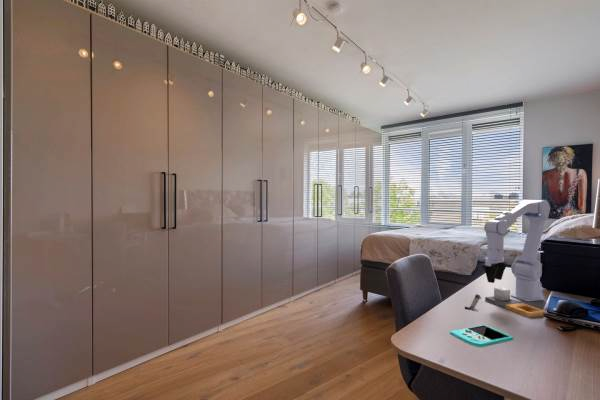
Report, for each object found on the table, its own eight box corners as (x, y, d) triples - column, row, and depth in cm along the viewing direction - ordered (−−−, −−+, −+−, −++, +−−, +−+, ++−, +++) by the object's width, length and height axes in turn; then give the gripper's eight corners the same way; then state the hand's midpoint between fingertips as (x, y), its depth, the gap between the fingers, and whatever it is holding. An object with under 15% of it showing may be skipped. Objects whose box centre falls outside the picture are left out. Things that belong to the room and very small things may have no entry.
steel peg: (501, 301, 130) (501, 287, 130) (509, 304, 126) (510, 290, 126) (493, 301, 129) (494, 287, 129) (502, 305, 125) (502, 290, 125)
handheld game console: (449, 334, 99) (449, 330, 98) (484, 327, 104) (484, 323, 104) (476, 348, 89) (476, 344, 89) (513, 340, 95) (513, 336, 95)
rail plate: (501, 298, 133) (501, 295, 133) (547, 315, 114) (547, 311, 114) (485, 300, 130) (485, 297, 130) (529, 317, 112) (529, 313, 112)
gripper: (491, 245, 134) (491, 276, 135) (477, 249, 126) (476, 281, 126) (510, 247, 129) (509, 279, 129) (496, 251, 120) (495, 285, 120)
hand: (494, 280), depth 127 cm, fingers open, 7 cm apart
